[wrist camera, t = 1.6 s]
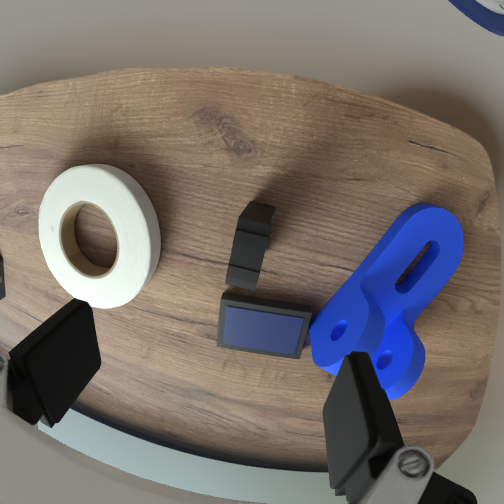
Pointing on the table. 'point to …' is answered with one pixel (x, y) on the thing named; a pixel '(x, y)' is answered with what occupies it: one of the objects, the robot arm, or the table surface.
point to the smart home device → (1, 280)
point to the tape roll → (123, 222)
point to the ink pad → (262, 325)
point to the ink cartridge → (249, 245)
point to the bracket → (390, 299)
